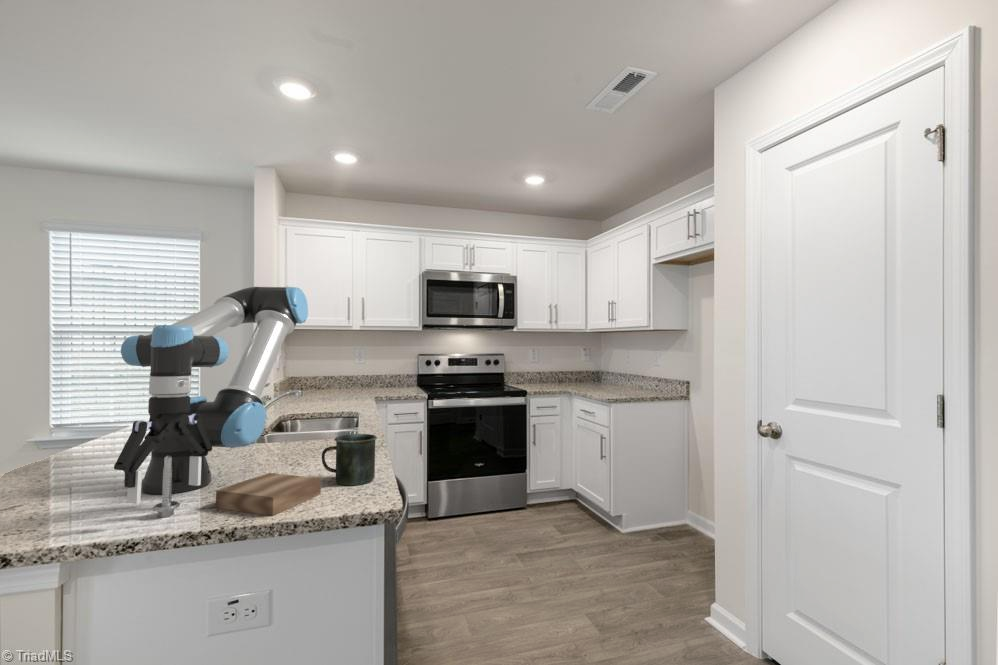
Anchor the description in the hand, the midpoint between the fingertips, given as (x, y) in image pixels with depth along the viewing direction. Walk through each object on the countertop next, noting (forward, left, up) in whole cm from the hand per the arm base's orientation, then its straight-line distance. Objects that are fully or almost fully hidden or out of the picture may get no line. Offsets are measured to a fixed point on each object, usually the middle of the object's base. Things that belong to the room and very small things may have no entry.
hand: (166, 493), depth 101 cm
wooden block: (+14, +15, -5) cm, 21 cm away
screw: (0, 0, -5) cm, 5 cm away
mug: (+22, +35, -5) cm, 42 cm away
